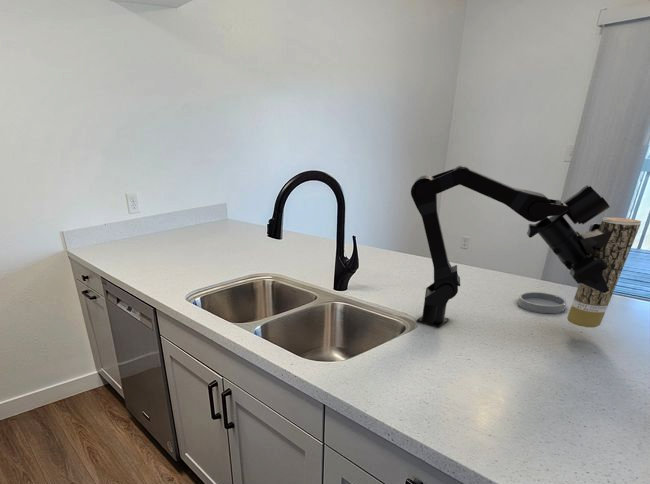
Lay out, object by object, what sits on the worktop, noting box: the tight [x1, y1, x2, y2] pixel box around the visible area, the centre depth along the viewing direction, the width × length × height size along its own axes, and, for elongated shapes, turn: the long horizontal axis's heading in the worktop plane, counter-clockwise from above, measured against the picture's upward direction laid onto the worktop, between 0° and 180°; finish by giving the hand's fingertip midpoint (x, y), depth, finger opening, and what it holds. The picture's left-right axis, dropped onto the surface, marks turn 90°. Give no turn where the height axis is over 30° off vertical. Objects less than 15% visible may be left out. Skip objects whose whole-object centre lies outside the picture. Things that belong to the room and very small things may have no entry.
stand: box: [517, 291, 567, 314], centre depth 127 cm, size 12×12×2 cm
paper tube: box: [567, 217, 642, 328], centre depth 102 cm, size 7×7×25 cm
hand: (602, 286), depth 103 cm, fingers closed on paper tube, 7 cm apart
